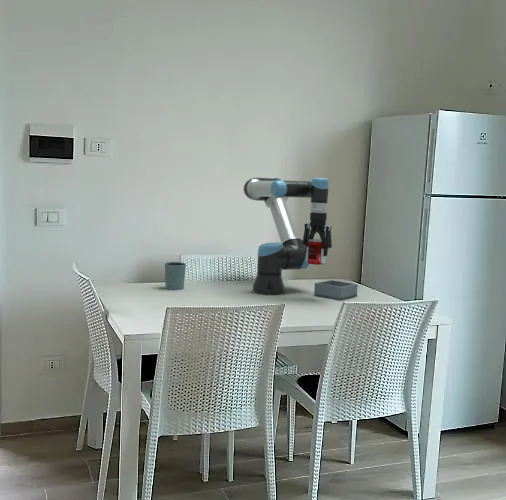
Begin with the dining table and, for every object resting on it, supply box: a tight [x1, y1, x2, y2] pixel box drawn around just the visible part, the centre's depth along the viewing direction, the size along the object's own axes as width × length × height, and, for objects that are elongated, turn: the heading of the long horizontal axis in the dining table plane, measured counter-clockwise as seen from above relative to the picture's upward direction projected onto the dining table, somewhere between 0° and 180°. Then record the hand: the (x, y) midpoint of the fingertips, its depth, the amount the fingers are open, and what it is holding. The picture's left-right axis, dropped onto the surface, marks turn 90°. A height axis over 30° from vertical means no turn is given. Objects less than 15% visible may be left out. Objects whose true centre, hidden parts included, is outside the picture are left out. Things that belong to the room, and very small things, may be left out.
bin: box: [313, 279, 359, 301], centre depth 327 cm, size 15×15×6 cm
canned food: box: [308, 238, 325, 266], centre depth 316 cm, size 8×8×11 cm
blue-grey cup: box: [164, 261, 187, 291], centre depth 329 cm, size 10×10×12 cm
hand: (315, 261), depth 316 cm, fingers closed on canned food, 8 cm apart
